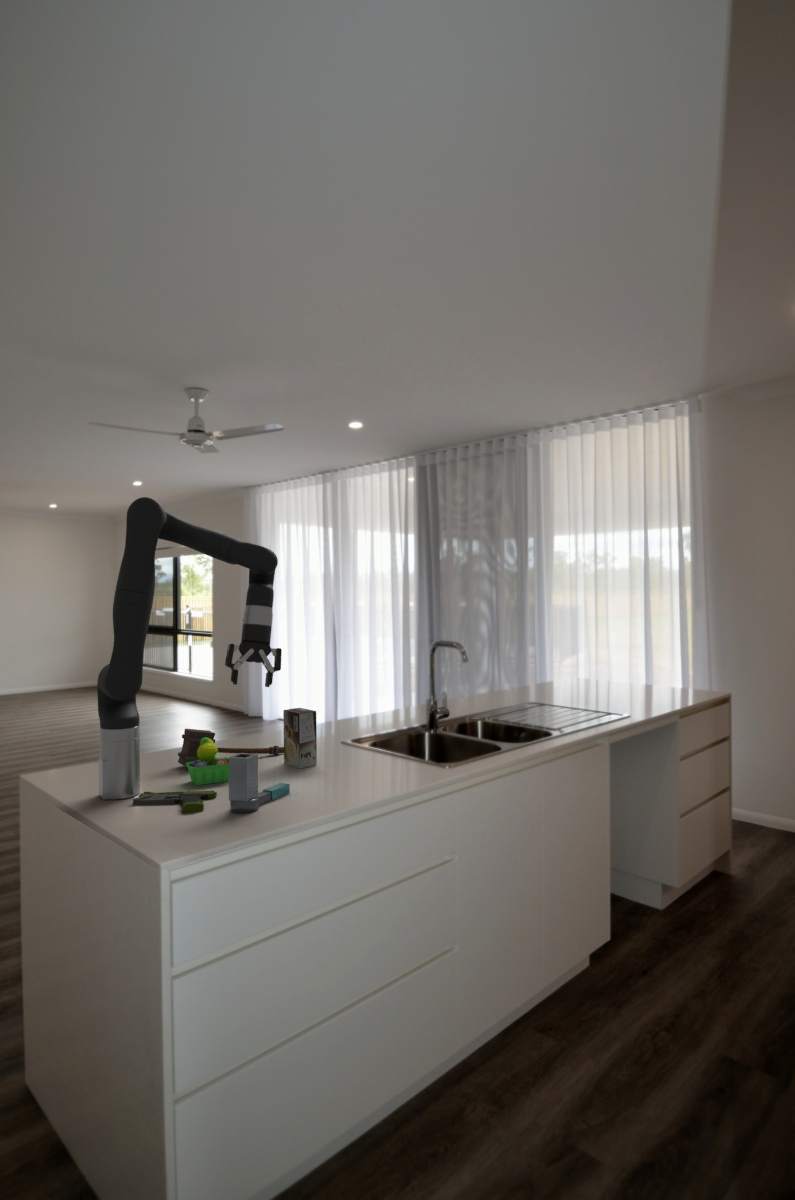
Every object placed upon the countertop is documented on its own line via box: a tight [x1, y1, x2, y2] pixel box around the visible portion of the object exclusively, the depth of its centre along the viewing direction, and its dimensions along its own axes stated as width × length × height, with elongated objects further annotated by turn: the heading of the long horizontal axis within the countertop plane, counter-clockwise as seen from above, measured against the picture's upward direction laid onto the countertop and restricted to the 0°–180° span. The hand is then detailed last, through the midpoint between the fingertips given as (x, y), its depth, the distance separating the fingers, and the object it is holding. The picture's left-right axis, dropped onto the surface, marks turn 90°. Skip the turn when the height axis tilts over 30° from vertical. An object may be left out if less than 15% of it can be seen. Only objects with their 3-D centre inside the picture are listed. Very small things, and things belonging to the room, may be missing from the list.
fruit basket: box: [186, 738, 229, 786], centre depth 186 cm, size 11×9×11 cm
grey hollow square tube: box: [228, 753, 259, 802], centre depth 160 cm, size 5×5×10 cm
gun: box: [132, 790, 218, 814], centre depth 165 cm, size 2×19×15 cm
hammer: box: [177, 728, 284, 767], centre depth 208 cm, size 7×33×10 cm, turn 125°
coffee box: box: [282, 707, 318, 769], centre depth 203 cm, size 9×6×16 cm
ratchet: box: [229, 782, 291, 815], centre depth 165 cm, size 19×6×6 cm, turn 152°
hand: (251, 685), depth 179 cm, fingers open, 8 cm apart
